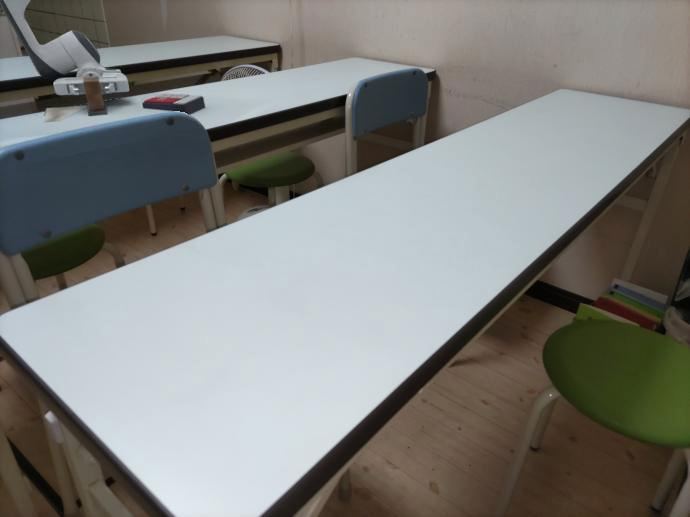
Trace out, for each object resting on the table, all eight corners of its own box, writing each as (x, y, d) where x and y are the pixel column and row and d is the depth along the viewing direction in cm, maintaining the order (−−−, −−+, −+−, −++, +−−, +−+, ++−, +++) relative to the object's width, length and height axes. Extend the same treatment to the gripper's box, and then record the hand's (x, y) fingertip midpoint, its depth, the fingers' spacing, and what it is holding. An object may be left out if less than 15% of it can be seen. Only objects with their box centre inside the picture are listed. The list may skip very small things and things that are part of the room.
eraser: (88, 116, 146) (81, 83, 141) (88, 107, 154) (81, 76, 149) (107, 115, 147) (100, 82, 143) (106, 106, 155) (100, 75, 151)
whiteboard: (42, 127, 140) (41, 122, 139) (46, 111, 152) (45, 107, 152) (120, 121, 147) (119, 117, 146) (118, 107, 159) (117, 103, 159)
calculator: (162, 92, 162) (203, 93, 158) (165, 106, 165) (205, 107, 160) (140, 100, 153) (183, 102, 149) (144, 114, 156) (186, 116, 151)
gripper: (52, 71, 152) (49, 81, 141) (125, 69, 159) (127, 78, 148) (57, 93, 155) (54, 104, 144) (129, 89, 162) (131, 100, 152)
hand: (92, 91), depth 147 cm, fingers open, 7 cm apart
